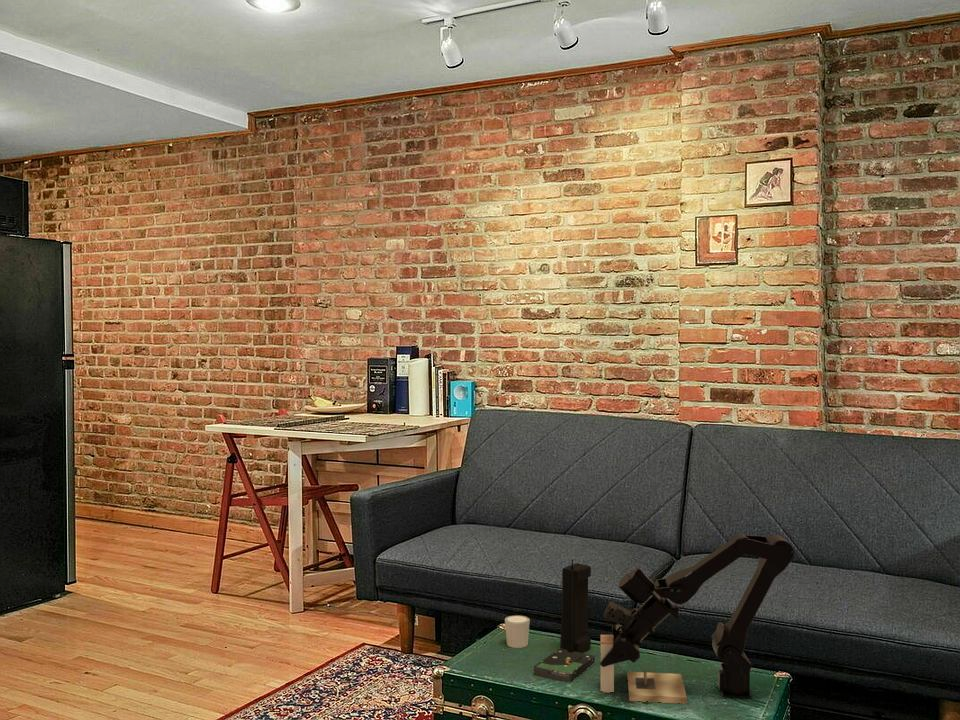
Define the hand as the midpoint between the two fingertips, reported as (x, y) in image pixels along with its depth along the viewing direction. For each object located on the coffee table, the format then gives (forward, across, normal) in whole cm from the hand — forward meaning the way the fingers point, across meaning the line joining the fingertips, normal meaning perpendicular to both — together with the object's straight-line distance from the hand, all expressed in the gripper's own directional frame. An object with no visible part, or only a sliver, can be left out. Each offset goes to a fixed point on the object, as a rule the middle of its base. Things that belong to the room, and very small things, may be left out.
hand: (601, 660), depth 212 cm
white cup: (+21, -27, -11) cm, 36 cm away
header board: (-4, 0, +14) cm, 15 cm away
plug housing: (+4, 0, +6) cm, 7 cm away
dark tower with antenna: (+10, -25, 0) cm, 27 cm away
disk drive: (+12, -11, -1) cm, 16 cm away
